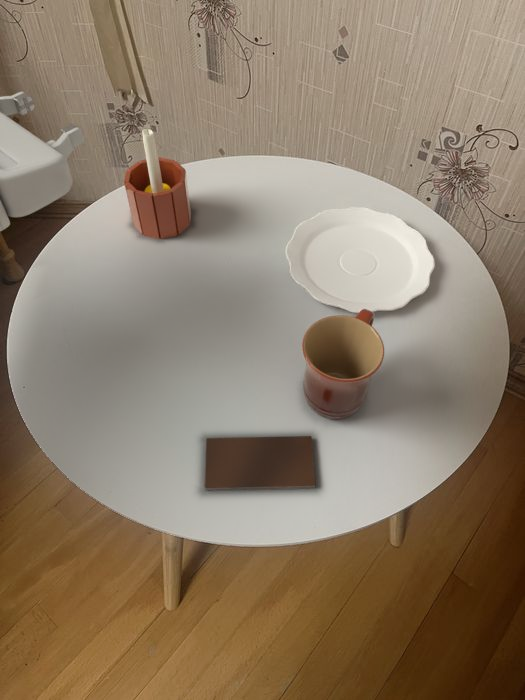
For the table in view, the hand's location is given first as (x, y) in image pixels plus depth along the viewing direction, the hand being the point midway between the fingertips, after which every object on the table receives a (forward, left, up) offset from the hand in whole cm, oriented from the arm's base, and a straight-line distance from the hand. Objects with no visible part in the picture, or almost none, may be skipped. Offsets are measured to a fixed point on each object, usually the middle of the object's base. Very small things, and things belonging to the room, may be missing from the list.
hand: (54, 115), depth 64 cm
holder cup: (+8, +9, -23) cm, 26 cm away
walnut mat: (+22, -32, -23) cm, 45 cm away
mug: (+32, -22, -23) cm, 46 cm away
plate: (+37, -1, -23) cm, 44 cm away
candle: (+8, +9, -23) cm, 26 cm away
